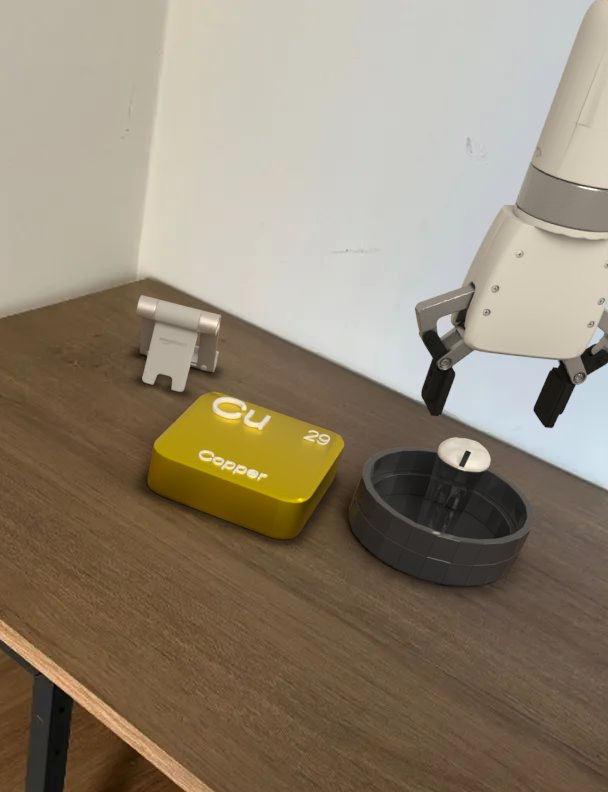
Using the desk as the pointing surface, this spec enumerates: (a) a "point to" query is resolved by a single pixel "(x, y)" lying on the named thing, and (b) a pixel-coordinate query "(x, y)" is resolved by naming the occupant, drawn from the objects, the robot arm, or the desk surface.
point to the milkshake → (452, 482)
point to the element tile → (245, 464)
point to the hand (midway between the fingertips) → (486, 414)
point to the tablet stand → (176, 340)
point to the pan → (426, 548)
